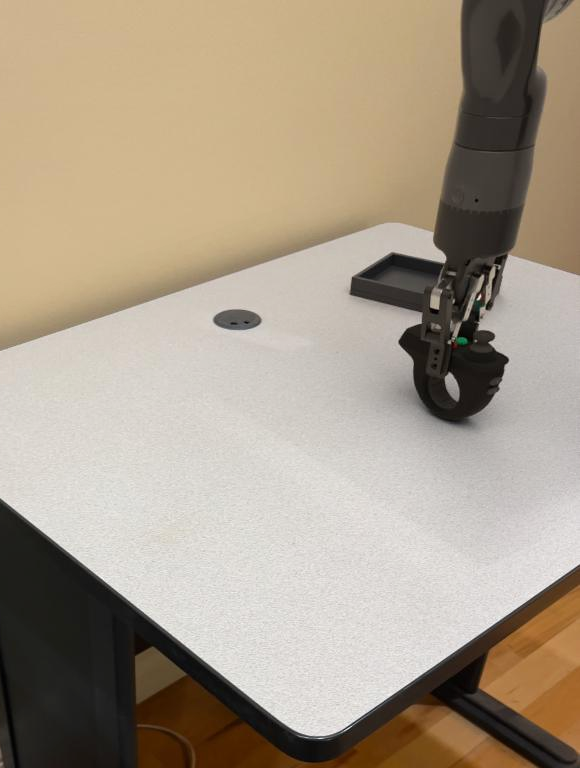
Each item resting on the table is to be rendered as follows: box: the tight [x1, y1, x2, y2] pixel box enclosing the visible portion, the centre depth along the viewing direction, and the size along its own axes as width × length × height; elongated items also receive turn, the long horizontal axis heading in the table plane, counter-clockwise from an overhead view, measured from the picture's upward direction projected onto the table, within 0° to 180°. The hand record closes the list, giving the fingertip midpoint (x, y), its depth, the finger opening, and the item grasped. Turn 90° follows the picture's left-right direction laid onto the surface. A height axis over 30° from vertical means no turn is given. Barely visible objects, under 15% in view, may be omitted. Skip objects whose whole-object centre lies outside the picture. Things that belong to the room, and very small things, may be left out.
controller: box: [397, 322, 510, 421], centre depth 94 cm, size 4×12×10 cm, turn 32°
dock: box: [349, 251, 504, 313], centre depth 120 cm, size 16×11×2 cm
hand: (449, 364), depth 93 cm, fingers closed on controller, 5 cm apart
